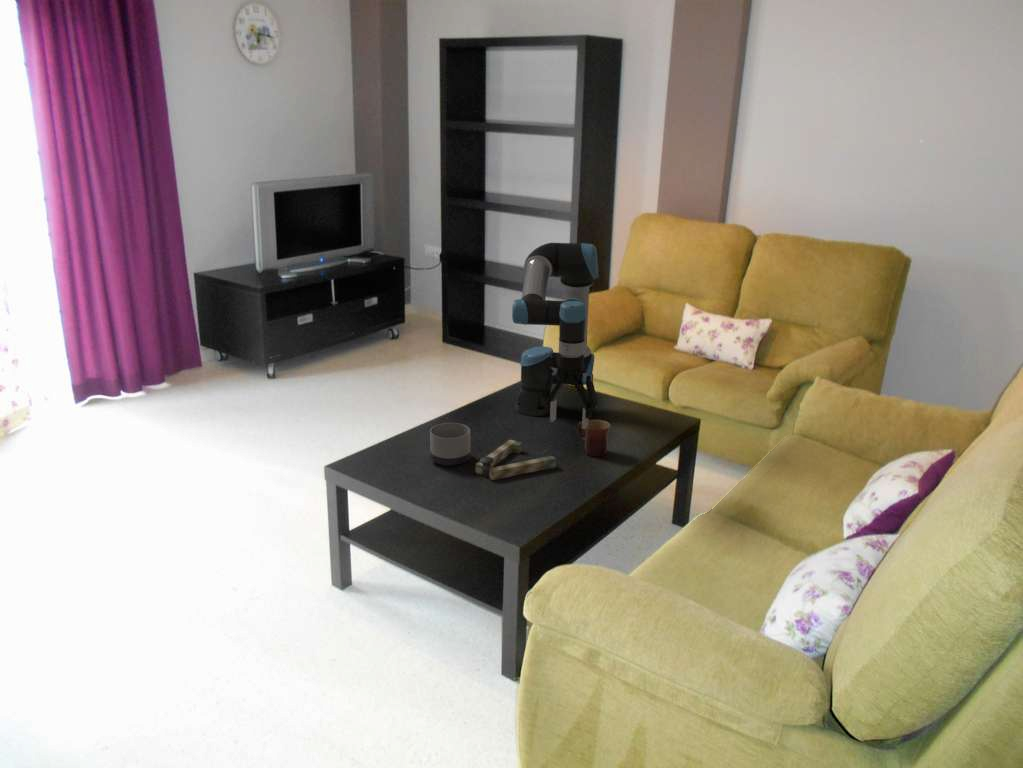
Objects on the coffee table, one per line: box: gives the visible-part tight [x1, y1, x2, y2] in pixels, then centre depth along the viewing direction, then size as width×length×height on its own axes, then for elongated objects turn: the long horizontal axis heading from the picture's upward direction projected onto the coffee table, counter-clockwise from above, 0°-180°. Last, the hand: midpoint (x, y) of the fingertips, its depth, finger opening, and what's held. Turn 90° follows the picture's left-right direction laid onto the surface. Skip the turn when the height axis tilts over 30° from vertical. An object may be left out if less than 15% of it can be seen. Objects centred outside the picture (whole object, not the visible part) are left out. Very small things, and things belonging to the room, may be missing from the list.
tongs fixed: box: [474, 439, 523, 478], centre depth 268 cm, size 24×6×6 cm, turn 151°
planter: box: [429, 422, 471, 467], centre depth 269 cm, size 13×13×10 cm
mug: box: [577, 419, 612, 458], centre depth 276 cm, size 12×9×10 cm
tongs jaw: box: [488, 455, 556, 481], centre depth 261 cm, size 22×2×3 cm, turn 116°
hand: (568, 423), depth 254 cm, fingers open, 10 cm apart
